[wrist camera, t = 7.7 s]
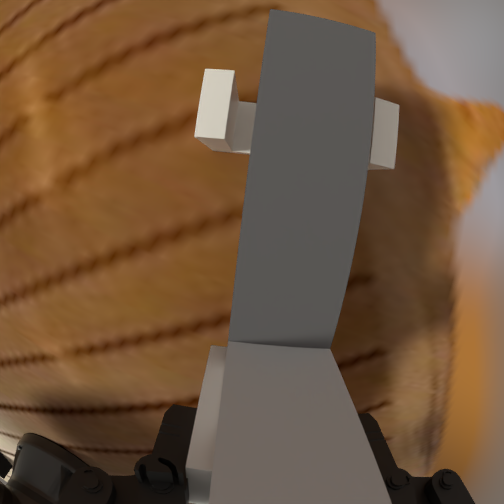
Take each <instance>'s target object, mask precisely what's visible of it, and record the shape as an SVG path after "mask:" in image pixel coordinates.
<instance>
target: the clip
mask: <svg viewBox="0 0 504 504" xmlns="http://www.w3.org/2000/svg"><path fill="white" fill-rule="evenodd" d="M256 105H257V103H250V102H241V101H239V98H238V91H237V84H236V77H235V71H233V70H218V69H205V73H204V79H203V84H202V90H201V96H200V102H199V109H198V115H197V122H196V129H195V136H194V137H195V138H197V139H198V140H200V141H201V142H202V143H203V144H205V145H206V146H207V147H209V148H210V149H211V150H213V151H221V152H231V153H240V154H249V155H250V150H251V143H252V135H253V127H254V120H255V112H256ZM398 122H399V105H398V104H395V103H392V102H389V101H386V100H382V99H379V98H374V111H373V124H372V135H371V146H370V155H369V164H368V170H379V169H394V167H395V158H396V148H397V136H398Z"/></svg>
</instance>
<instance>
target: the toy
mask: <svg viewBox="0 0 504 504" xmlns="http://www.w3.org/2000/svg"><path fill="white" fill-rule="evenodd" d="M11 468H12V465H11V464H10V463H9V462H8V460H7V459H6V458H5V457H4V456H3V455H2V454H1V452H0V476H1V477H2V478H3V479H4V478H5V476H6V475H7V474H8V472H9V471H10V469H11Z"/></svg>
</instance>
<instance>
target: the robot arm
mask: <svg viewBox="0 0 504 504" xmlns="http://www.w3.org/2000/svg"><path fill="white" fill-rule="evenodd" d="M226 354H227V347H222V346H214V345H211V348H210V352H209V357H208V361H207V366H206V371H205V375H204V380H203V384H202V389H201V394H200V398H199V403H198V408H192V407H186V406H180V405H175V404H173V405H172V406H171V407H170V408H169V409H168V410H167V411H166V412H165V414H164V417H163V420H162V425H161V427H160V430H159V433H158V436H157V439H156V442H155V445H154V449H153V452H152V454H149V455H147V456H144V457H142V458H141V459H140V460H139V461H138V462H137V463H136V465H135V468H134V471H135V474H136V475H133V476H109V475H108V474H107V473H106V472H104V471H103V470H101V469H99V468H96V467H91V466H90V467H89V466H87V465H86V464H85V463H83V462H82V461H81V460H79V459H78V458H77V457H75V456H74V455H72V454H71V453H69V452H68V451H66V450H65V449H63V448H61V447H60V446H58V445H56V444H55V443H53V442H51V441H49V440H47V439H45V438H43V437H40V436H38V435H35V434H31V433H26V434H24V435H23V437H22V438H21V439H20V441H19V442H18V444H17V450H16V454H15V459H14V465H13V471H12V476H11V478H10V479H9V481H8V483H7V485H6V486H5V485H4V484H3V483H2V482H1V481H0V504H188V502H189V503H195V504H209V495H210V486H211V477H212V468H213V460H214V451H215V443H216V434H217V426H218V418H219V409H220V401H221V393H222V385H223V377H224V370H225V362H226ZM358 417H359V419H360V422H361V424H362V427H363V429H364V432H365V434H366V437H367V439H368V442H369V444H370V447H371V449H372V452H373V455H374V457H375V460H376V462H377V465H378V468H379V470H380V473H381V476H382V478H383V481H384V484H385V486H386V489H387V492H388V494H389V497H390V500H391V503H392V504H475V503H474V501H473V499H472V497H471V496H470V494H469V492H468V490H467V489H466V487H465V485H464V484H463V482H462V480H461V479H460V477H459V476H458V475H457V473H456V472H454V471H452V470H449V469H443V470H439V471H438V472H436V473H435V474H434V475H433V476H432V477H412V476H411V475H410V474H409V473H408V472H407V471H405V470H403V469H400V468H398V467H397V465H396V463H395V461H394V459H393V456H392V454H391V452H390V449H389V447H388V445H387V443H386V440H384V436H383V434H382V432H381V429H380V427H379V425H378V423H377V421H376V420H375V419H374V418H373V417H372V416H371V415H370V414H369V413H366V414H358Z"/></svg>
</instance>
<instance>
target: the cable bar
mask: <svg viewBox="0 0 504 504" xmlns="http://www.w3.org/2000/svg"><path fill="white" fill-rule="evenodd" d="M375 64H376V37H375V33H374V32H371V31H368V30H365V29H361V28H358V27H355V26H351V25H348V24H344V23H340V22H336V21H332V20H328V19H324V18H319V17H315V16H310V15H305V14H299V13H294V12H287V11H281V10H273V9H270V14H269V21H268V27H267V34H266V41H265V48H264V55H263V62H262V69H261V76H260V83H259V90H258V98H257V105H256V112H255V120H254V127H253V135H252V143H251V150H250V158H249V166H248V174H247V182H246V190H245V198H244V206H243V214H242V223H241V231H240V239H239V248H238V257H237V265H236V274H235V283H234V292H233V301H232V310H231V319H230V329H229V338H228V346H227V354H226V362H225V370H224V377H223V385H222V393H221V401H220V409H219V418H218V426H217V434H216V443H215V451H214V460H213V468H212V477H211V486H210V495H209V504H392V503H391V500H390V497H389V494H388V492H387V489H386V486H385V484H384V481H383V478H382V476H381V473H380V470H379V468H378V465H377V462H376V460H375V457H374V455H373V452H372V449H371V447H370V444H369V442H368V439H367V437H366V434H365V432H364V429H363V427H362V424H361V422H360V419H359V417H358V414H357V412H356V409H355V407H354V404H353V402H352V400H351V397H350V395H349V392H348V390H347V388H346V385H345V383H344V380H343V378H342V376H341V373H340V371H339V369H338V366H337V364H336V362H335V359H334V357H333V355H332V352H331V350H330V347H331V344H332V341H333V337H334V333H335V330H336V326H337V323H338V319H339V315H340V311H341V307H342V303H343V299H344V295H345V291H346V287H347V283H348V278H349V274H350V269H351V265H352V260H353V255H354V250H355V245H356V240H357V235H358V229H359V224H360V218H361V212H362V206H363V200H364V193H365V186H366V179H367V172H368V164H369V155H370V146H371V135H372V124H373V111H374V94H375Z"/></svg>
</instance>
